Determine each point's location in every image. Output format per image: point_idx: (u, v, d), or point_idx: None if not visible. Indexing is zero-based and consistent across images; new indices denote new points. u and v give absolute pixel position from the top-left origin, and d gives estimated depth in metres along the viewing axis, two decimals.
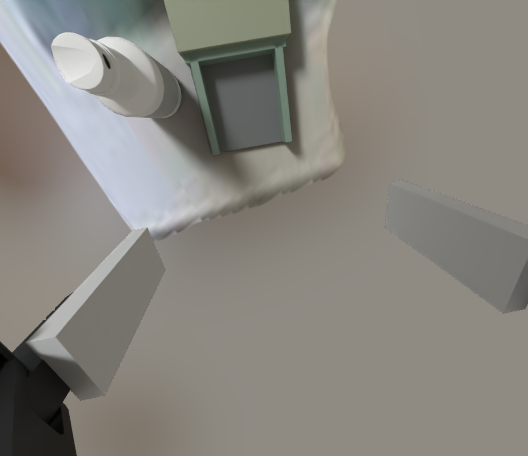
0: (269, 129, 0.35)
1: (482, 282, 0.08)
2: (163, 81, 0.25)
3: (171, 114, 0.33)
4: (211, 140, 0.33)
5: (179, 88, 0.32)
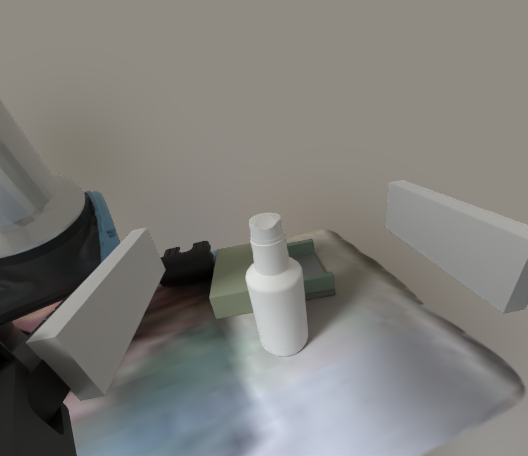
0: (306, 259, 0.45)
1: (482, 282, 0.08)
2: None
3: None
4: (320, 276, 0.36)
5: None
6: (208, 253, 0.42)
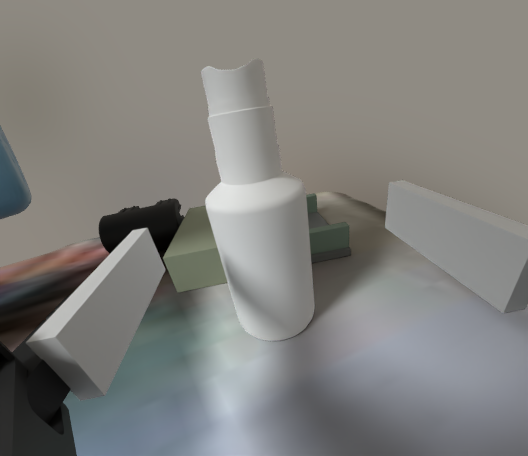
0: None
1: (482, 282, 0.08)
2: None
3: None
4: (329, 228, 0.24)
5: None
6: (173, 208, 0.31)
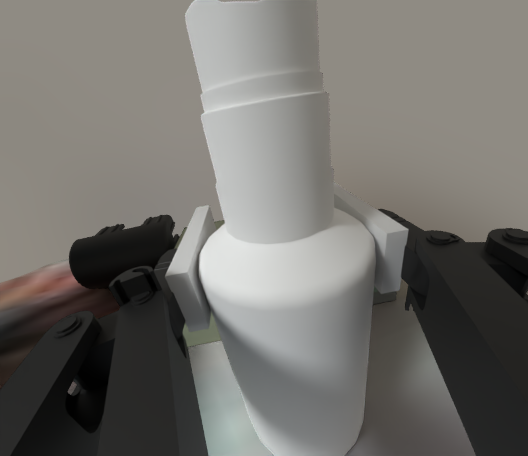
0: None
1: None
2: None
3: None
4: None
5: None
6: (164, 230, 0.25)
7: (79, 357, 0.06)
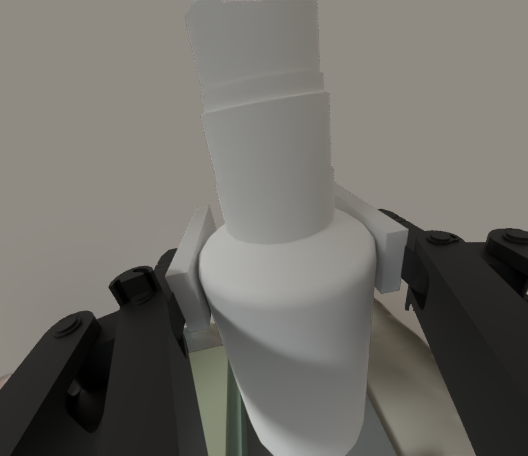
0: None
1: None
2: None
3: None
4: None
5: None
6: None
7: (79, 357, 0.06)
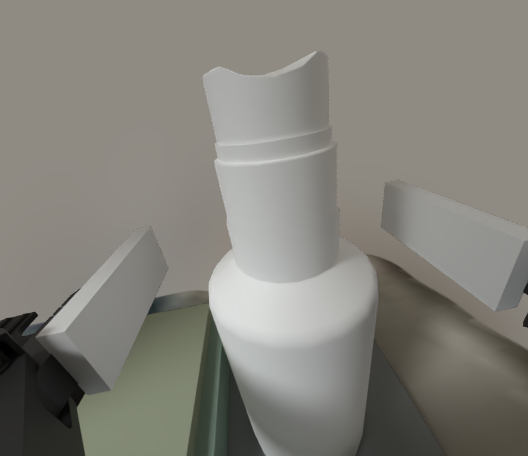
0: None
1: (475, 281, 0.08)
2: None
3: None
4: None
5: None
6: None
7: None
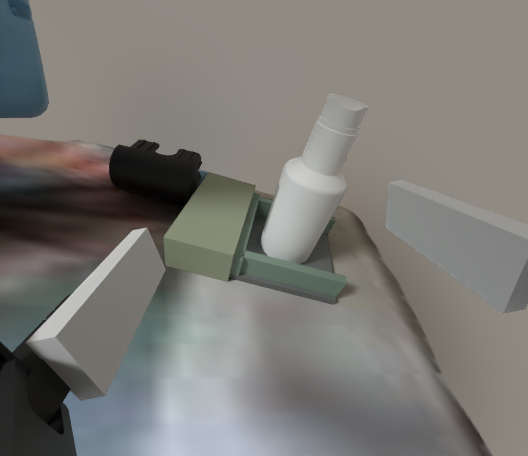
0: None
1: (482, 282, 0.08)
2: None
3: None
4: (328, 276, 0.24)
5: None
6: (192, 171, 0.29)
7: None
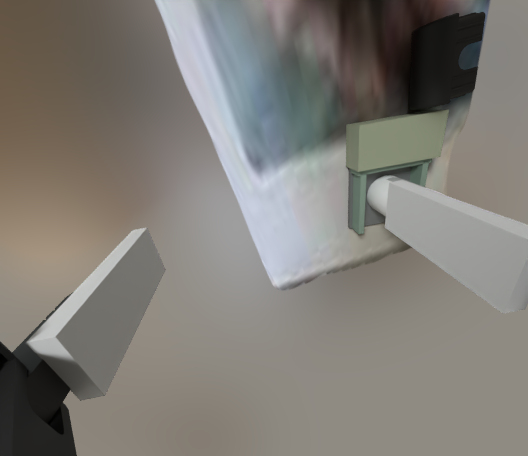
0: None
1: (482, 282, 0.08)
2: None
3: None
4: (360, 224, 0.42)
5: None
6: (435, 105, 0.32)
7: None
